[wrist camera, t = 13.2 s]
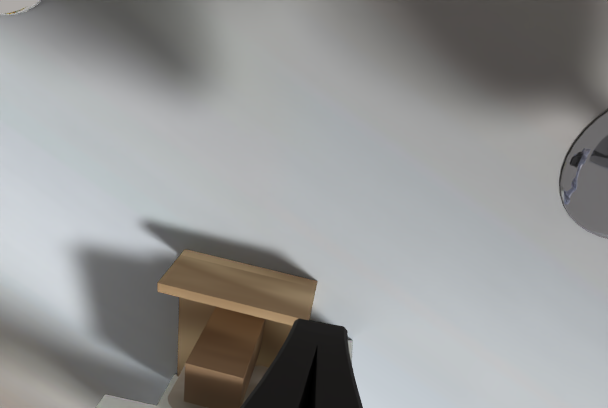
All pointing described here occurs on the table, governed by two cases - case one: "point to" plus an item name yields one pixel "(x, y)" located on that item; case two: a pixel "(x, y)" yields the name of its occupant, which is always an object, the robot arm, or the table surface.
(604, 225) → the wine glass
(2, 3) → the wineglass
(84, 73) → the table surface
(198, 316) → the wooden toy
